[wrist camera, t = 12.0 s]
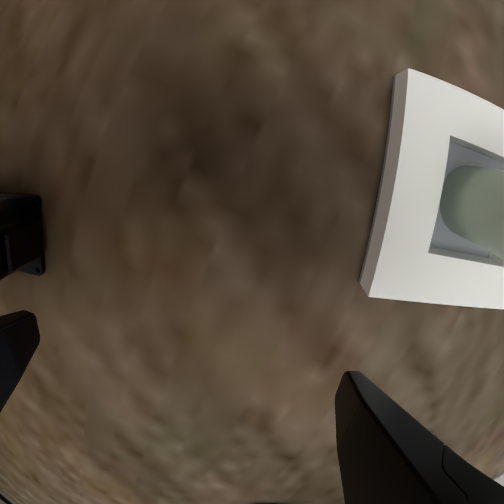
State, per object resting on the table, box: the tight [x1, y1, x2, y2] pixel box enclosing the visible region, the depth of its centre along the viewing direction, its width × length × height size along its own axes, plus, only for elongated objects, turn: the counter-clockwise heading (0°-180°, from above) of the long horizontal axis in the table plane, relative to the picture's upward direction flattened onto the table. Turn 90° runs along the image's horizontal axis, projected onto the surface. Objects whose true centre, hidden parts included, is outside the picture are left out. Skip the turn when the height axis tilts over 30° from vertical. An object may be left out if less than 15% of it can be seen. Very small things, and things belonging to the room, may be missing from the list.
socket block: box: [359, 68, 504, 309], centre depth 17 cm, size 14×14×2 cm
